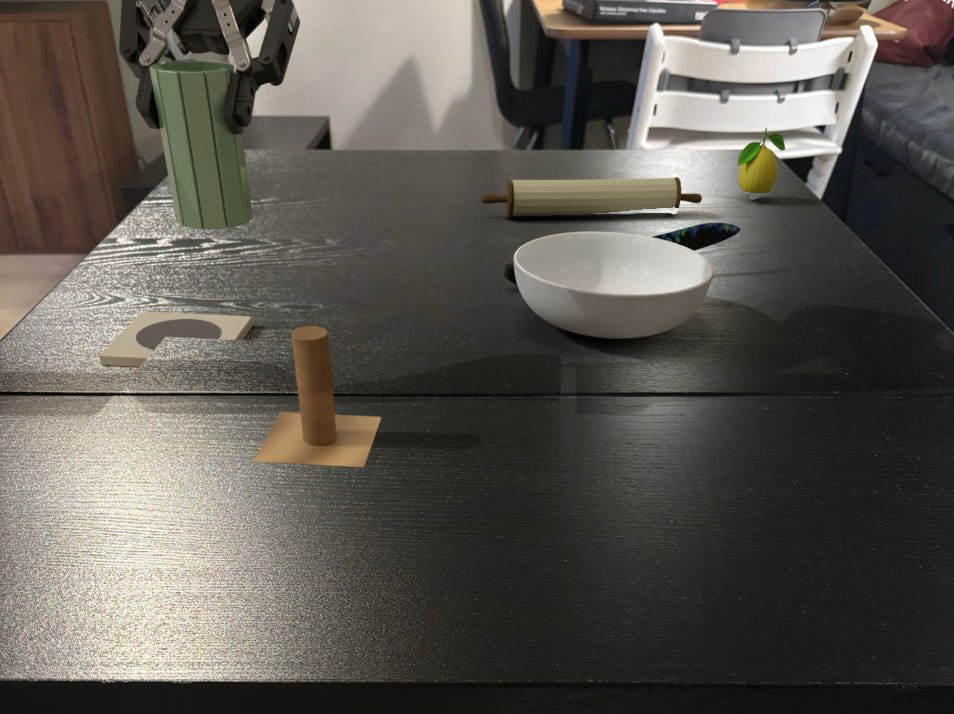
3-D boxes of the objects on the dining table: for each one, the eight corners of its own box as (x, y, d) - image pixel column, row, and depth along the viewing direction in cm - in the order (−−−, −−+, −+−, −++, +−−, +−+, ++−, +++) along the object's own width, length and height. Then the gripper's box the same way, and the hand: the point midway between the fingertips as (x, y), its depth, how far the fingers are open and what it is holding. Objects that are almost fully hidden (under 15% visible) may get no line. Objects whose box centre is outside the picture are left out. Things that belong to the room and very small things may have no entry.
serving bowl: (662, 378, 92) (673, 308, 87) (476, 335, 99) (478, 269, 95) (728, 313, 106) (740, 249, 101) (561, 279, 114) (565, 219, 109)
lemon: (775, 197, 145) (790, 125, 139) (775, 207, 140) (791, 133, 134) (731, 194, 146) (744, 122, 140) (730, 203, 142) (743, 129, 135)
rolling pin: (482, 223, 131) (483, 184, 128) (478, 212, 136) (478, 174, 132) (704, 220, 135) (710, 182, 131) (693, 209, 139) (699, 172, 136)
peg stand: (255, 474, 76) (236, 352, 69) (281, 424, 83) (266, 309, 76) (365, 480, 75) (356, 358, 69) (382, 429, 82) (376, 314, 76)
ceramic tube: (166, 228, 76) (138, 70, 69) (191, 207, 80) (167, 58, 74) (239, 231, 75) (218, 73, 68) (260, 210, 80) (241, 60, 73)
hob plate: (100, 365, 92) (98, 354, 91) (143, 320, 101) (141, 310, 100) (221, 371, 91) (219, 360, 91) (253, 325, 101) (252, 315, 100)
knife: (508, 304, 111) (505, 266, 108) (501, 294, 113) (499, 257, 110) (747, 259, 115) (752, 221, 112) (736, 250, 117) (740, 213, 114)
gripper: (116, -121, 71) (78, 86, 69) (299, -116, 69) (264, 97, 67) (160, -39, 78) (126, 150, 77) (326, -33, 76) (295, 160, 75)
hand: (191, 124), depth 72 cm, fingers closed on ceramic tube, 6 cm apart
